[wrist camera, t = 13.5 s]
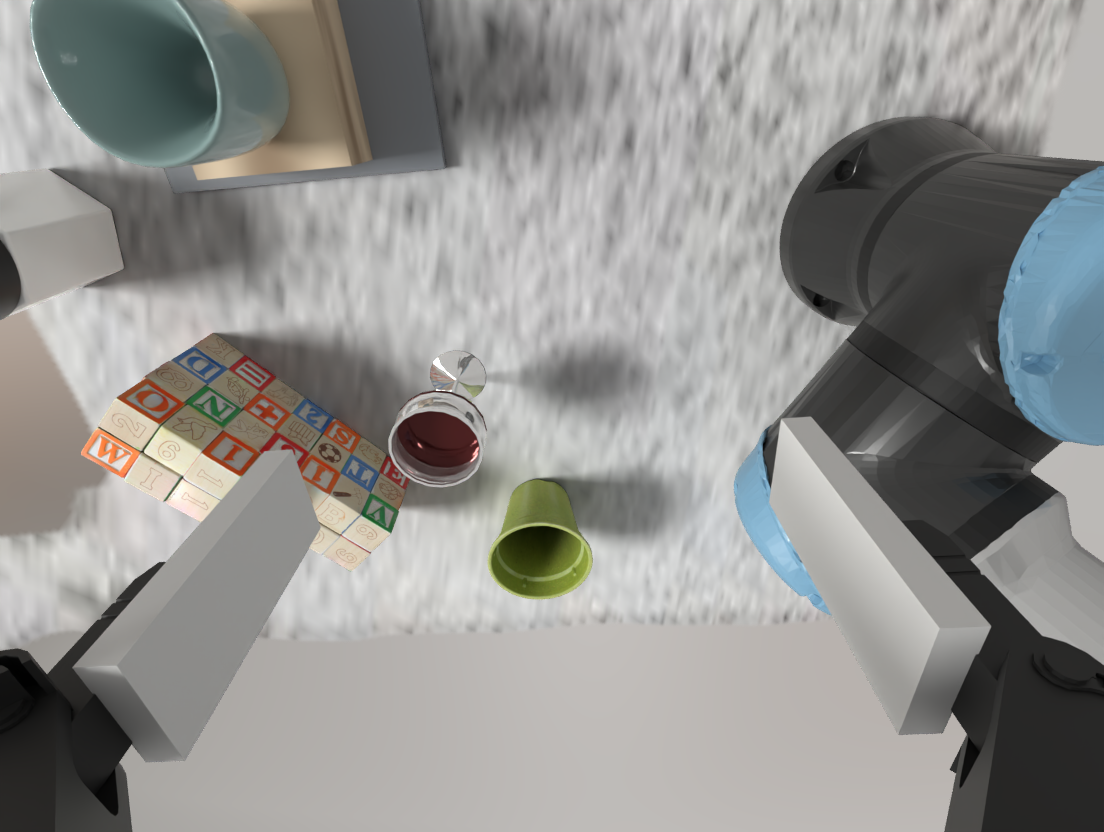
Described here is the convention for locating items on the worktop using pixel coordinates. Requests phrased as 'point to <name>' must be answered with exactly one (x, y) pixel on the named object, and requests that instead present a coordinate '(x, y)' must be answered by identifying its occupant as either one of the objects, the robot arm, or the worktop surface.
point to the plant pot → (539, 544)
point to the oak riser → (305, 93)
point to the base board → (371, 99)
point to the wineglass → (442, 425)
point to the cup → (162, 77)
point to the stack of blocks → (246, 446)
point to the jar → (51, 240)
